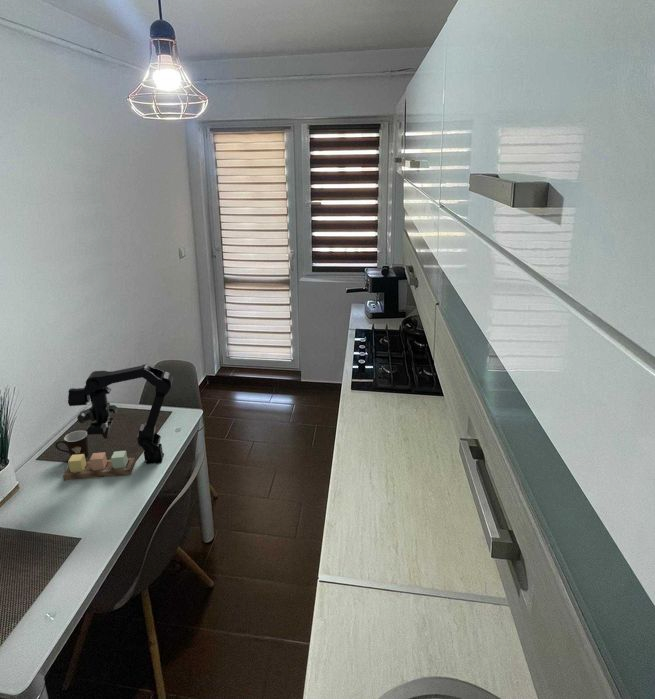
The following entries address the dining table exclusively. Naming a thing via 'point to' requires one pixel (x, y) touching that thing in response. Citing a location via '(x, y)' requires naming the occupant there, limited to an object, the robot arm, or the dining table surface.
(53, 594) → the dining table surface
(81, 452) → the coffee mug
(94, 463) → the terracotta cube
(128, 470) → the brown wooden board
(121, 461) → the mint green cube
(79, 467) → the yellow cube
